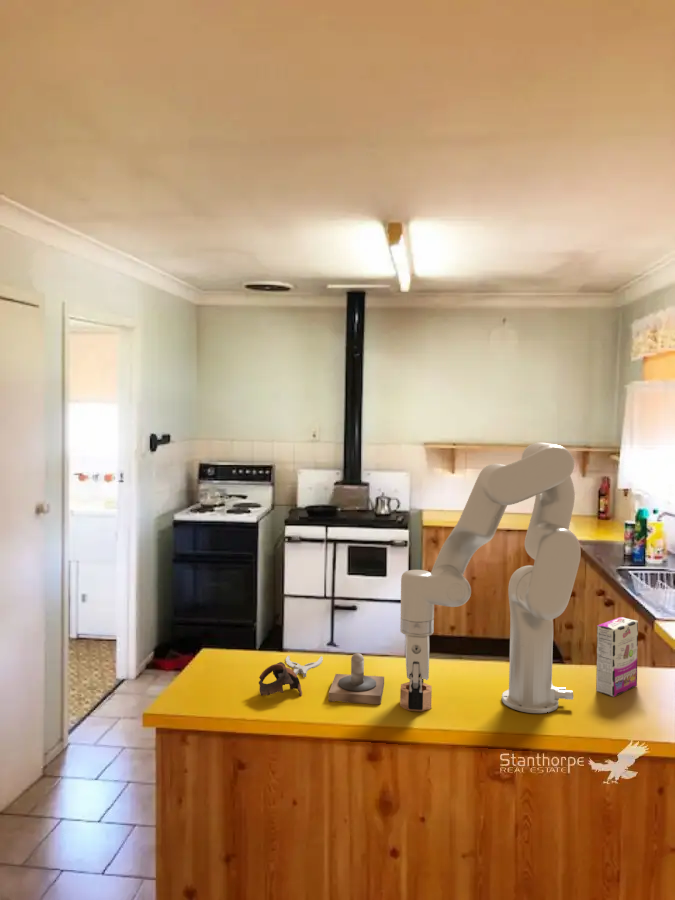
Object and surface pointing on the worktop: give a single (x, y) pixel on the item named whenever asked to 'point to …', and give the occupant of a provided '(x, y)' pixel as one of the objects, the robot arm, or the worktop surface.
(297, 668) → the pliers
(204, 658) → the worktop surface
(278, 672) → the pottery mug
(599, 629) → the candy bar box
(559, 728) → the worktop surface
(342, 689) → the shaft block
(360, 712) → the worktop surface
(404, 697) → the ring
